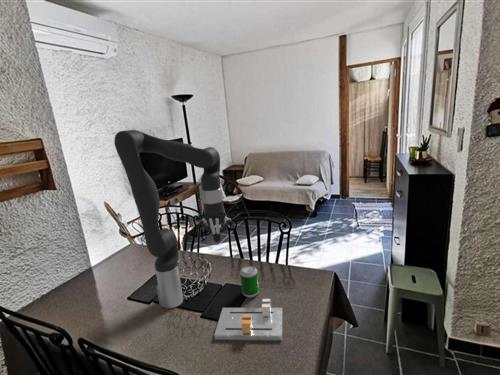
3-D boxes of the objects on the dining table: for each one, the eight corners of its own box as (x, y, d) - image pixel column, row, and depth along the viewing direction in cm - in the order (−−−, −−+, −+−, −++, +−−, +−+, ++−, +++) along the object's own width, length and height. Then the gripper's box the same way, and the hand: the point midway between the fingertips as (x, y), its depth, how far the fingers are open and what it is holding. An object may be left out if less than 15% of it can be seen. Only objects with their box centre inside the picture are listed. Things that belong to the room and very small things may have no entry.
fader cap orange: (242, 333, 104) (241, 322, 103) (244, 323, 109) (243, 313, 108) (251, 333, 104) (250, 322, 103) (252, 323, 108) (251, 313, 107)
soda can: (257, 299, 126) (255, 274, 123) (240, 298, 128) (238, 273, 125) (260, 288, 133) (258, 265, 130) (244, 288, 135) (242, 264, 132)
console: (214, 341, 105) (213, 336, 104) (223, 311, 120) (222, 307, 119) (282, 342, 102) (281, 337, 101) (282, 312, 117) (282, 307, 116)
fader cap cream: (262, 316, 112) (261, 306, 111) (263, 307, 117) (262, 297, 116) (270, 316, 111) (269, 306, 110) (271, 307, 116) (270, 297, 115)
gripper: (193, 203, 110) (199, 246, 114) (228, 202, 108) (232, 245, 113) (198, 198, 117) (204, 238, 122) (231, 196, 116) (235, 237, 120)
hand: (217, 241), depth 117 cm, fingers closed
